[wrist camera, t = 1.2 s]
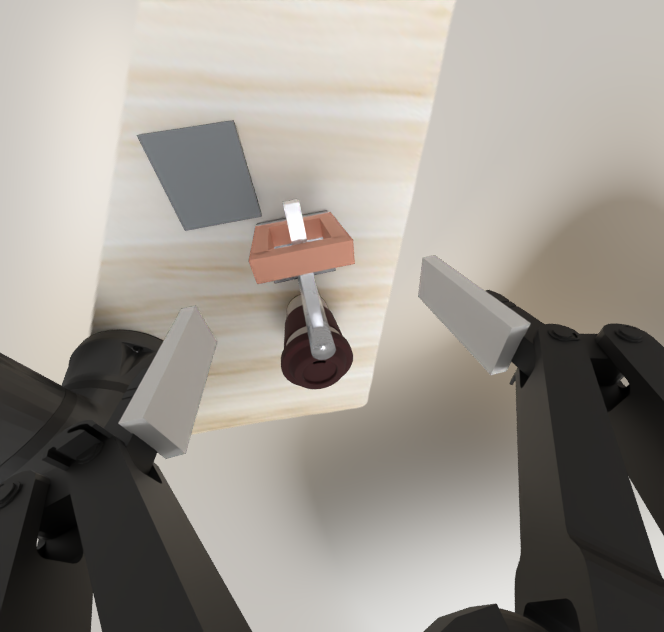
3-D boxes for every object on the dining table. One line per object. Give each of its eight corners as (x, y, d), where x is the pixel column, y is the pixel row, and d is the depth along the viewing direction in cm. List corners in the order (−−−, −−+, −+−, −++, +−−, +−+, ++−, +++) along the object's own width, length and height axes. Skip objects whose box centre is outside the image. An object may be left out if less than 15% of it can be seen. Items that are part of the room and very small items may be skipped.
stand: (274, 281, 38) (276, 371, 23) (243, 183, 30) (215, 226, 15) (334, 268, 39) (373, 347, 24) (321, 169, 31) (368, 197, 16)
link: (261, 244, 26) (257, 284, 19) (255, 226, 25) (248, 260, 18) (332, 230, 26) (354, 263, 19) (330, 212, 25) (352, 239, 18)
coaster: (186, 229, 32) (184, 230, 31) (140, 135, 25) (136, 135, 25) (261, 214, 32) (261, 216, 32) (233, 120, 26) (232, 120, 26)
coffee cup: (314, 337, 47) (327, 403, 35) (268, 318, 42) (267, 387, 31) (344, 300, 43) (371, 360, 32) (298, 275, 39) (309, 334, 27)
